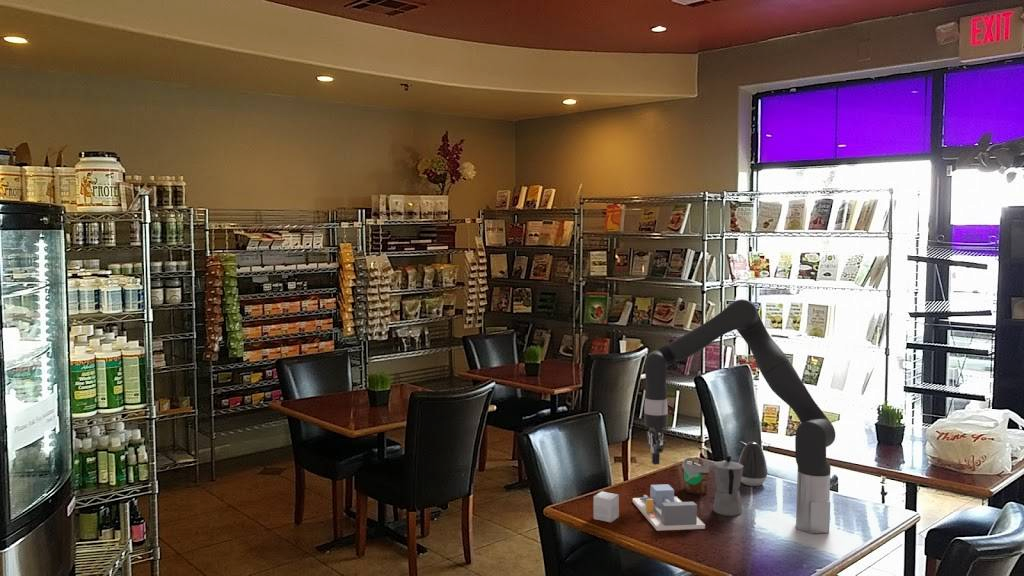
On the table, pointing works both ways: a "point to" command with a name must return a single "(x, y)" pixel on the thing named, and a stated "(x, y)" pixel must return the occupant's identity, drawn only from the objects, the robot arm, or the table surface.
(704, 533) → the table surface
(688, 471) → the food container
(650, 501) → the block
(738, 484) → the coffeepot
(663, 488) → the plunger
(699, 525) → the bench
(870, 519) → the table surface
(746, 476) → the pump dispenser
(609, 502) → the skincare box
